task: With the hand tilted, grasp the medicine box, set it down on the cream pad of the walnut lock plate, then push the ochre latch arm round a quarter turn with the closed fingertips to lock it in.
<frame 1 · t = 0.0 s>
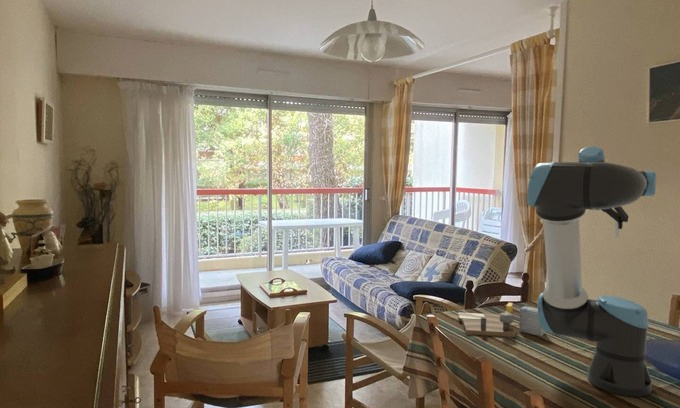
hand: (596, 232, 168), 36 cm above the table, tool tilted 35°, fingers open, 13 cm apart
lock plate: (486, 326, 170), on the table
medicine box: (531, 333, 164), on the table
latch arm: (507, 316, 164), point 6 cm above the table, hinge at 0.0°
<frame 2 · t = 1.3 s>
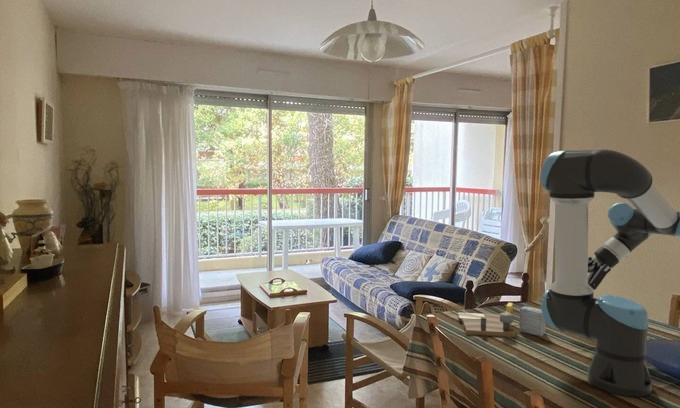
hand: (564, 293, 161), 15 cm above the table, tool tilted 45°, fingers open, 13 cm apart
nothing on the table moved.
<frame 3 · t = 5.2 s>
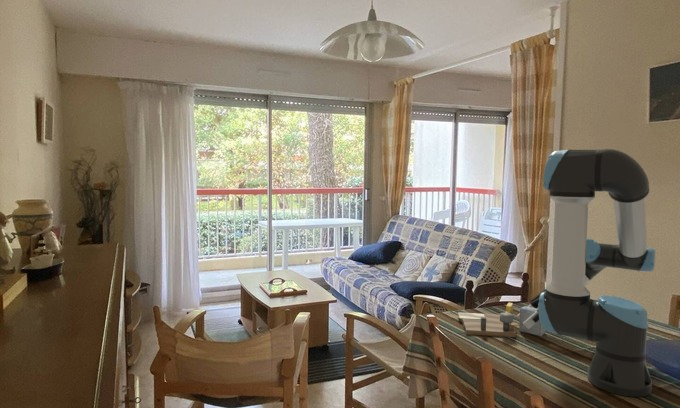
hand: (522, 322, 164), 4 cm above the table, tool tilted 45°, fingers closed on medicine box, 8 cm apart
medicine box: (531, 333, 164), on the table, touching gripper
everything else where it was.
when the fingers open (7 cm above the table, at t = 10.7 s): medicine box drops 1 cm, resting on lock plate.
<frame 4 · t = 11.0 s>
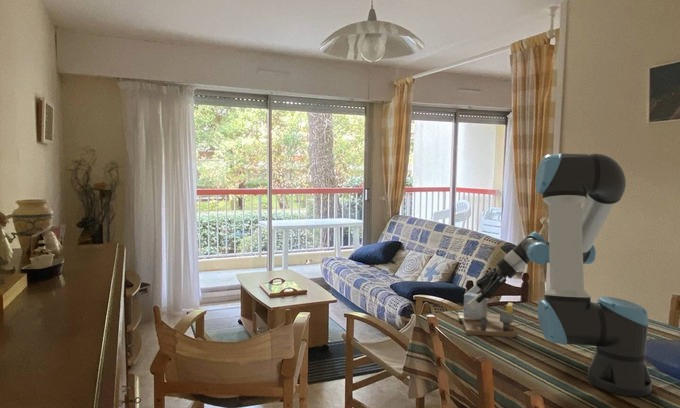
hand: (468, 302, 175), 8 cm above the table, tool tilted 45°, fingers open, 11 cm apart
medicine box: (475, 317, 175), point 2 cm above the table, touching lock plate
everything else where it was.
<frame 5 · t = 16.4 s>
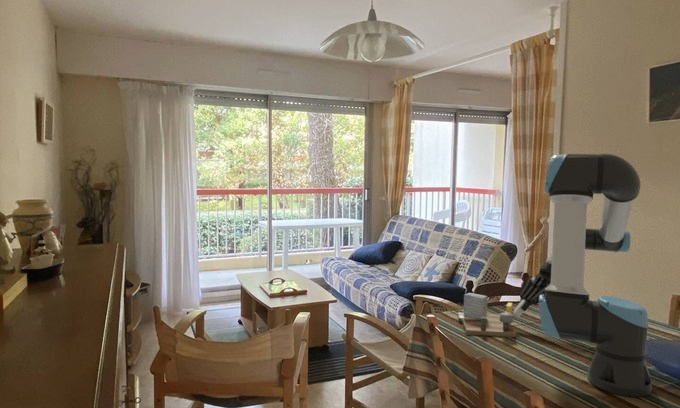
hand: (515, 315, 167), 5 cm above the table, tool tilted 45°, fingers closed
latch arm: (507, 316, 164), point 6 cm above the table, hinge at 0.9°, touching gripper
everything else where it was.
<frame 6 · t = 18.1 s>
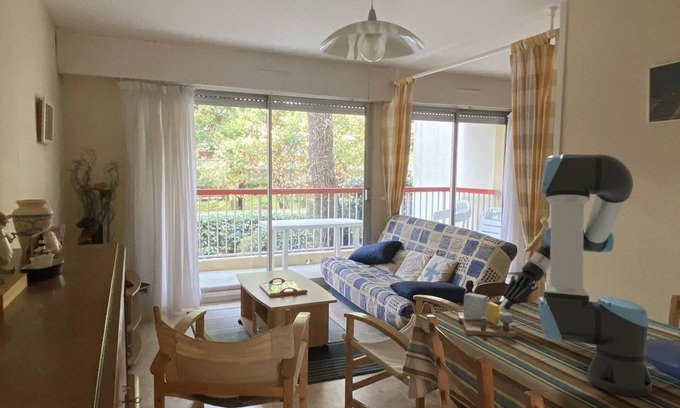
hand: (498, 314, 168), 5 cm above the table, tool tilted 45°, fingers closed
latch arm: (499, 316, 165), point 6 cm above the table, hinge at 46.8°, touching gripper
everything else where it was.
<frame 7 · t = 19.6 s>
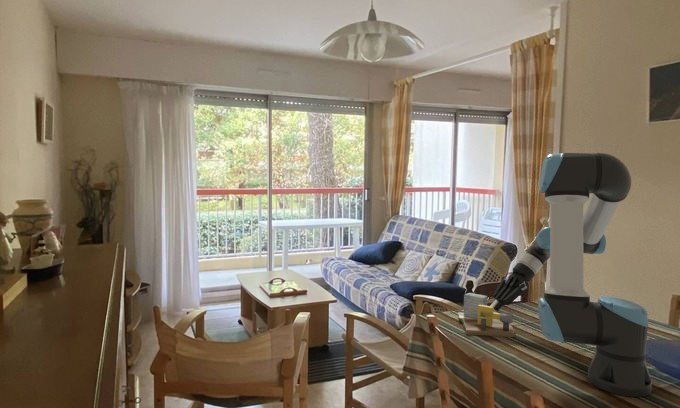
hand: (487, 315, 167), 5 cm above the table, tool tilted 45°, fingers closed
latch arm: (495, 317, 163), point 6 cm above the table, hinge at 84.3°, touching gripper
everything else where it was.
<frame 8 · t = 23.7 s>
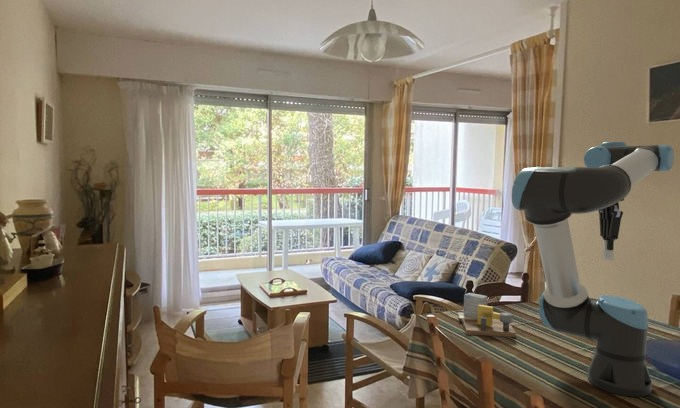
hand: (607, 259, 151), 29 cm above the table, tool pointing down, fingers closed
latch arm: (495, 317, 163), point 6 cm above the table, hinge at 84.4°
everything else where it was.
at the end: medicine box inside the target area (1.0 cm from its centre), point 1.6 cm above the table; medicine box tilted 0°; latch arm at +84° (first picture: +0°) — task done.
